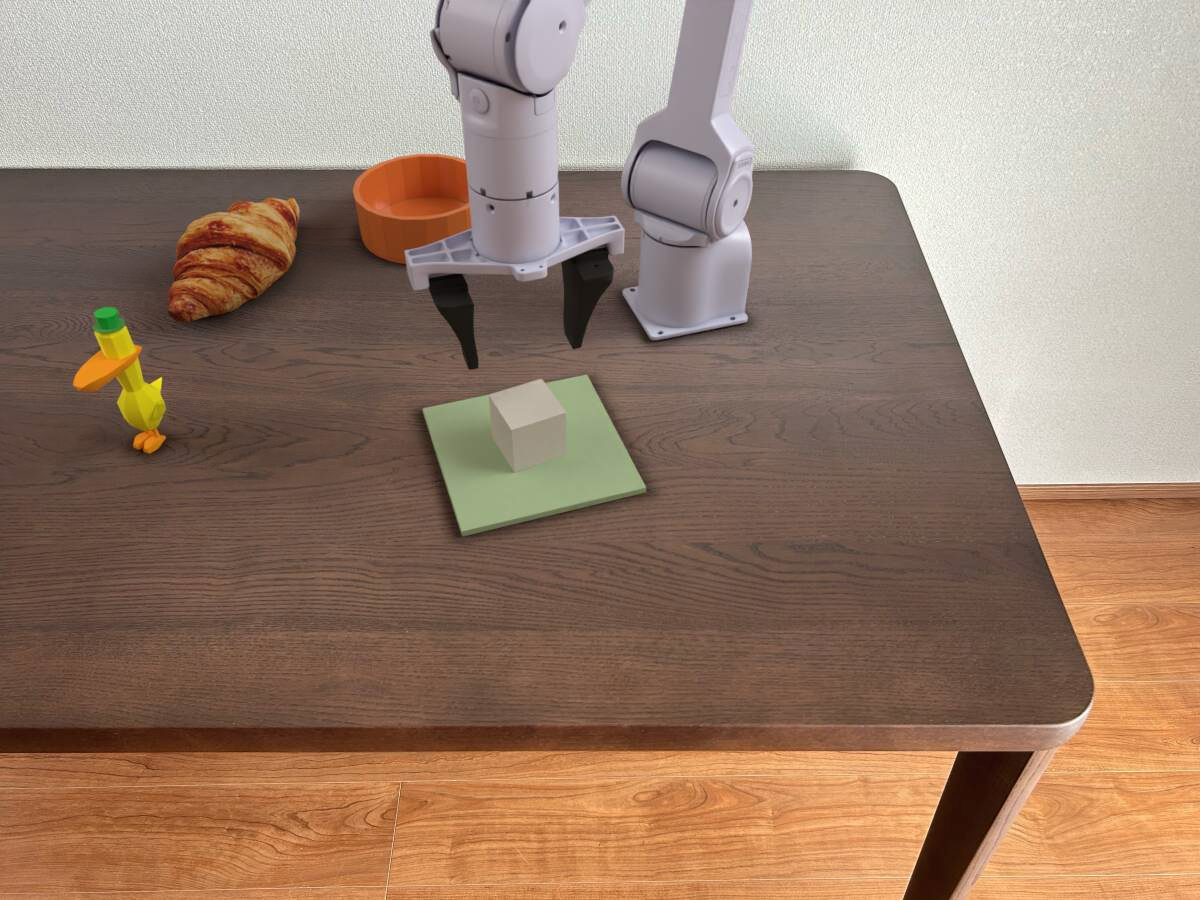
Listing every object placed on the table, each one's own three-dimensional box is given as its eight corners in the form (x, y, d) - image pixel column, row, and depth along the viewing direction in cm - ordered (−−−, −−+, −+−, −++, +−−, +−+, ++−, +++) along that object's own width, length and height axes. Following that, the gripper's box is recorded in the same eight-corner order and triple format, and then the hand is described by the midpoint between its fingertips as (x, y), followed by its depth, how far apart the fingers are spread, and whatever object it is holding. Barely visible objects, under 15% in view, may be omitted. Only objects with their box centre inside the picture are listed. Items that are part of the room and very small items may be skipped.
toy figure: (135, 479, 73) (78, 352, 64) (98, 465, 74) (37, 338, 65) (195, 424, 77) (149, 298, 69) (160, 412, 78) (110, 287, 70)
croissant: (278, 244, 103) (230, 178, 99) (348, 215, 98) (301, 145, 94) (166, 361, 88) (104, 289, 83) (244, 333, 83) (182, 255, 79)
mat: (586, 379, 82) (587, 374, 81) (646, 492, 72) (646, 487, 72) (423, 413, 78) (422, 407, 78) (462, 537, 69) (461, 531, 68)
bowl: (474, 189, 105) (470, 146, 102) (505, 252, 96) (503, 206, 93) (352, 208, 102) (344, 164, 99) (372, 274, 93) (364, 228, 90)
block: (543, 420, 77) (541, 378, 74) (567, 455, 74) (566, 412, 71) (491, 437, 76) (488, 394, 73) (514, 473, 73) (511, 429, 70)
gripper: (410, 228, 56) (435, 405, 66) (643, 190, 60) (635, 364, 69) (388, 172, 61) (414, 345, 70) (606, 140, 65) (603, 309, 74)
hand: (522, 350), depth 70 cm, fingers open, 7 cm apart
